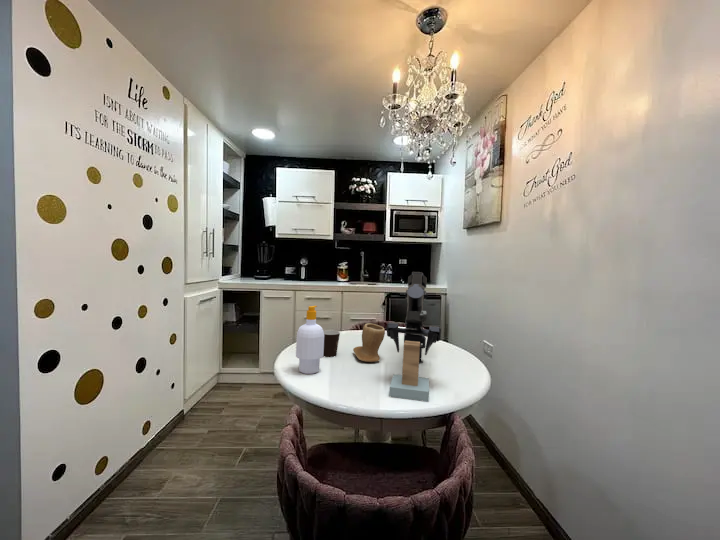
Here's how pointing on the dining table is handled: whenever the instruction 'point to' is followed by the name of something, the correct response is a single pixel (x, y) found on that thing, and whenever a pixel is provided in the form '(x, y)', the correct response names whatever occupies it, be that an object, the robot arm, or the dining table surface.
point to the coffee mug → (331, 342)
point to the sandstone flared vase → (370, 343)
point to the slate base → (409, 389)
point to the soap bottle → (310, 344)
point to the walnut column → (410, 363)
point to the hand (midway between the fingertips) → (411, 353)
